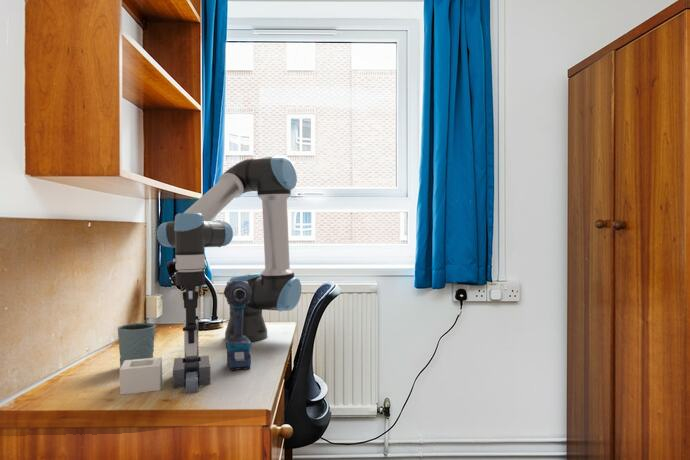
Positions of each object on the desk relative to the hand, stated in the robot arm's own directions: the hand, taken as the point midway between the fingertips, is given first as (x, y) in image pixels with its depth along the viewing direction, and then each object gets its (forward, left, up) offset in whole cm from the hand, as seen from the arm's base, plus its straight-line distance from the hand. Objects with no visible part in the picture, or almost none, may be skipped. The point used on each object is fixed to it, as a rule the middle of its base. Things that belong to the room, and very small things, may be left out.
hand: (191, 349), depth 131 cm
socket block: (+3, 0, -7) cm, 8 cm away
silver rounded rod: (0, 0, -7) cm, 7 cm away
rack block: (+5, -12, -7) cm, 15 cm away
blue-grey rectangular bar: (+10, 0, -7) cm, 12 cm away
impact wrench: (-4, +13, -7) cm, 16 cm away
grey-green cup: (-15, -15, -8) cm, 23 cm away
